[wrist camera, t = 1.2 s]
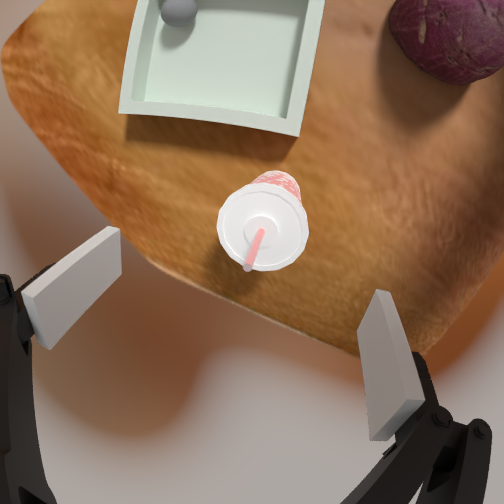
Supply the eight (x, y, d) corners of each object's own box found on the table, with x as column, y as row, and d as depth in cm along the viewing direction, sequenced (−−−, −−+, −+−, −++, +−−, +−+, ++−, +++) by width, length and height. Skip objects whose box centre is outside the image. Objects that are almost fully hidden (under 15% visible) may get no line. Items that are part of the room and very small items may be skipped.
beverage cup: (258, 151, 26) (212, 188, 14) (320, 180, 26) (330, 244, 14) (233, 208, 29) (177, 286, 17) (291, 235, 29) (275, 331, 17)
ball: (205, 1, 19) (193, -10, 17) (198, 30, 21) (185, 21, 18) (173, 2, 20) (158, -8, 17) (167, 30, 21) (150, 23, 18)
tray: (326, -4, 18) (328, -19, 15) (299, 134, 25) (298, 136, 22) (160, -13, 20) (144, -23, 16) (137, 111, 26) (118, 113, 23)
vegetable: (458, 13, 18) (554, -21, 3) (472, 97, 21) (589, 93, 7) (376, -18, 17) (465, -93, 3) (390, 73, 20) (523, 30, 6)
